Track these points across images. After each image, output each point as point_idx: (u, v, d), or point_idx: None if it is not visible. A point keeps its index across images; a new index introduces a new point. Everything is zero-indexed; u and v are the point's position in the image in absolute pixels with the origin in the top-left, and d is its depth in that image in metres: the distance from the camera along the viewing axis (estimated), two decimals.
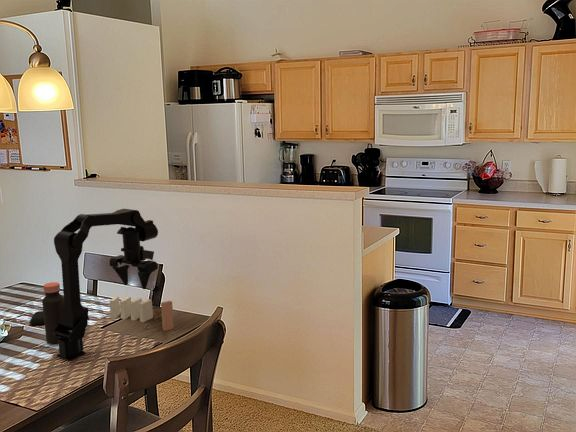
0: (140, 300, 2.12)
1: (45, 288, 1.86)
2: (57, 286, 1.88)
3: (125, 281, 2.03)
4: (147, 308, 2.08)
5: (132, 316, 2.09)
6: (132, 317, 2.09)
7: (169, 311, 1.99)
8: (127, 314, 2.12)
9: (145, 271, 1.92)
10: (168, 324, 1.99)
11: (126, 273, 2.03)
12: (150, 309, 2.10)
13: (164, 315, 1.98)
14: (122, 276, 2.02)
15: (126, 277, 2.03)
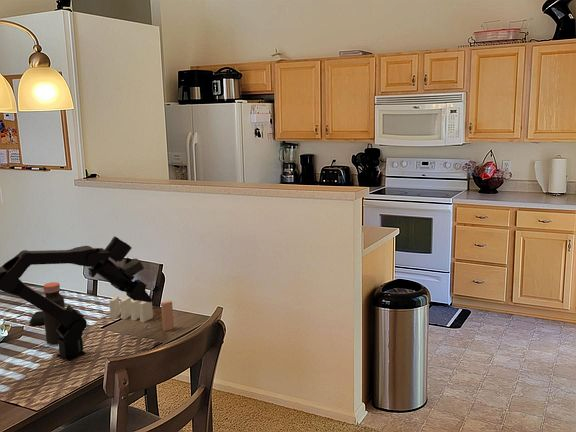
0: None
1: (45, 288, 1.86)
2: (57, 286, 1.88)
3: None
4: (147, 308, 2.08)
5: (132, 316, 2.09)
6: (132, 317, 2.09)
7: (169, 311, 1.99)
8: (127, 314, 2.12)
9: (134, 299, 1.81)
10: (168, 324, 1.99)
11: None
12: (150, 309, 2.10)
13: (164, 315, 1.98)
14: None
15: None
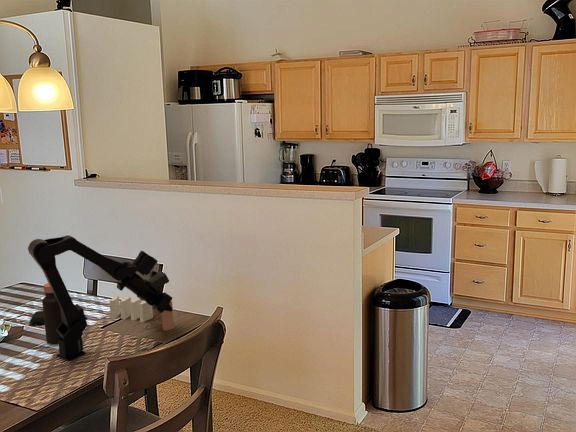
0: (140, 300, 2.12)
1: (45, 288, 1.86)
2: None
3: None
4: (147, 308, 2.08)
5: (132, 316, 2.09)
6: (132, 317, 2.09)
7: (169, 311, 1.99)
8: (127, 314, 2.12)
9: (160, 311, 1.88)
10: (168, 324, 1.99)
11: None
12: (150, 309, 2.10)
13: (164, 315, 1.98)
14: None
15: None
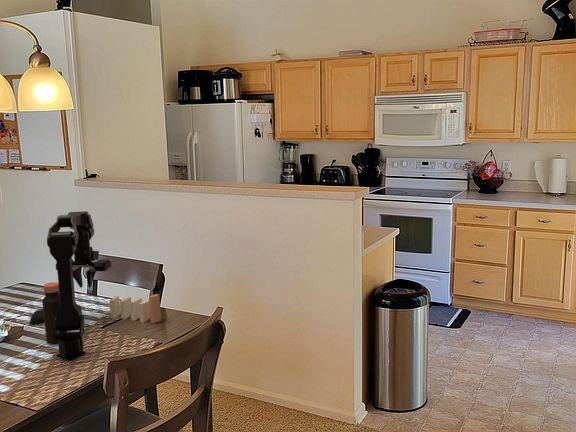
0: (140, 300, 2.12)
1: (45, 288, 1.86)
2: (57, 286, 1.88)
3: (81, 283, 2.05)
4: (147, 308, 2.08)
5: (132, 316, 2.09)
6: (132, 317, 2.09)
7: (156, 304, 2.06)
8: (127, 314, 2.12)
9: (103, 269, 2.00)
10: (156, 317, 2.06)
11: (80, 275, 2.06)
12: None
13: (153, 308, 2.05)
14: (78, 279, 2.04)
15: (81, 279, 2.06)
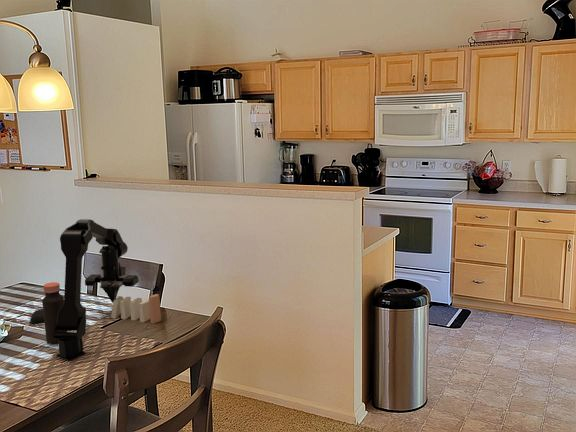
0: (140, 300, 2.12)
1: (45, 288, 1.86)
2: (57, 286, 1.88)
3: None
4: (147, 308, 2.08)
5: (132, 316, 2.09)
6: (132, 317, 2.09)
7: (156, 304, 2.06)
8: (127, 314, 2.12)
9: (132, 285, 2.07)
10: (156, 317, 2.06)
11: None
12: None
13: (153, 308, 2.05)
14: (110, 294, 2.11)
15: None
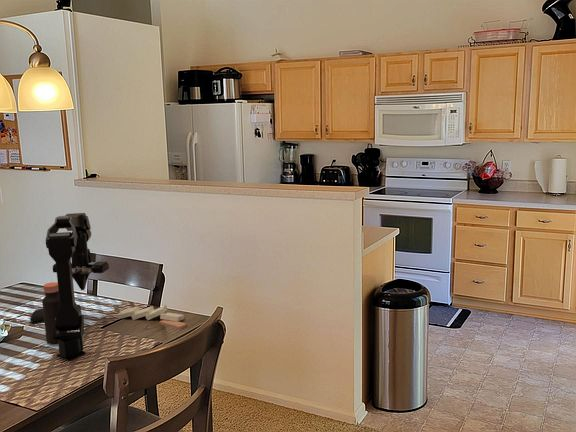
0: None
1: (45, 288, 1.86)
2: (57, 286, 1.88)
3: None
4: None
5: (149, 316, 2.08)
6: (148, 317, 2.08)
7: None
8: None
9: (101, 271, 1.99)
10: None
11: None
12: None
13: None
14: (79, 281, 2.02)
15: None
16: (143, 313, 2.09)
